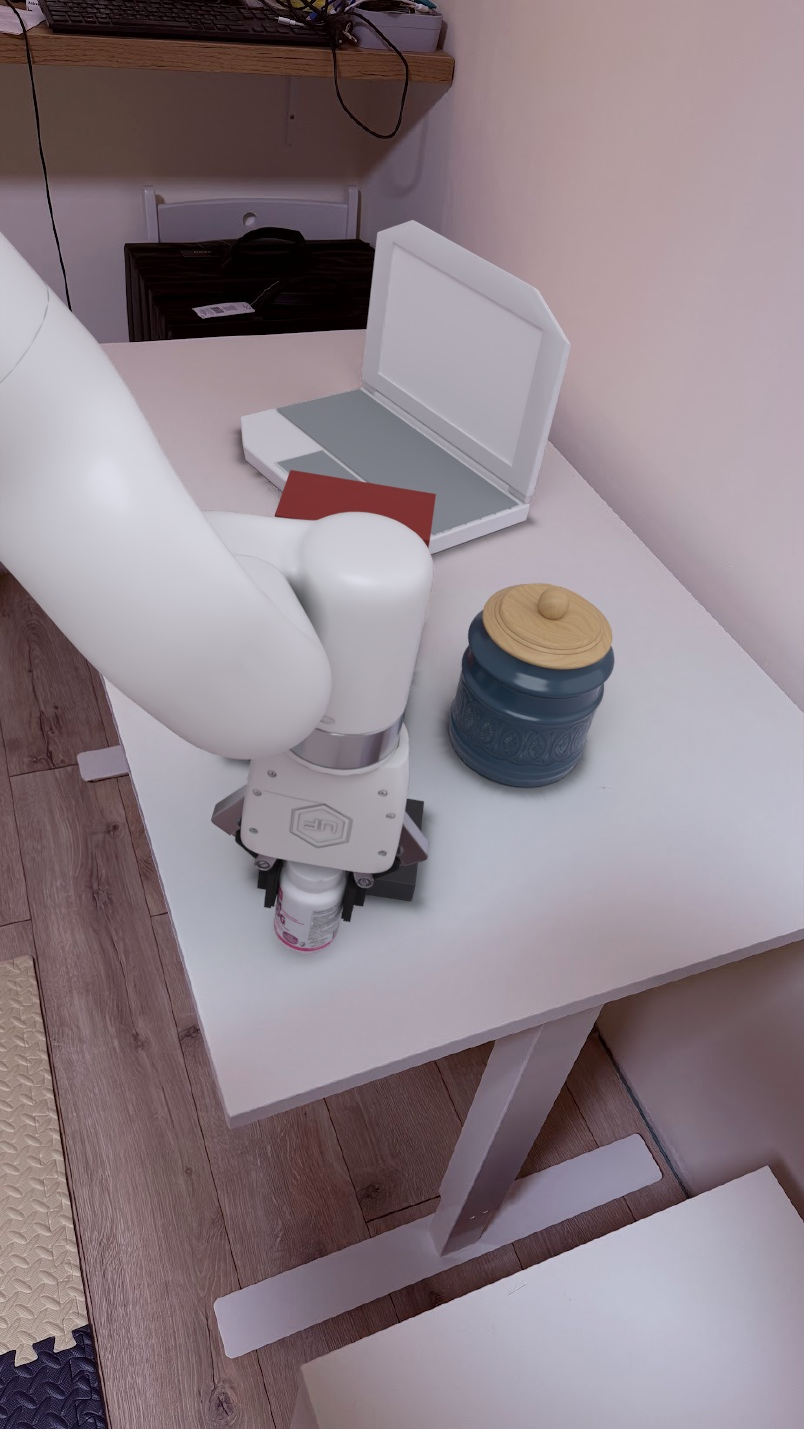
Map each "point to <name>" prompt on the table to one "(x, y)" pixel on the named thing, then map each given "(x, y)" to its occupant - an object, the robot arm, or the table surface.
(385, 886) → the control block
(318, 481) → the red box with knob
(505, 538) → the table surface
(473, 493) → the laptop
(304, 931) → the pill bottle
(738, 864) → the table surface
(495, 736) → the canister
